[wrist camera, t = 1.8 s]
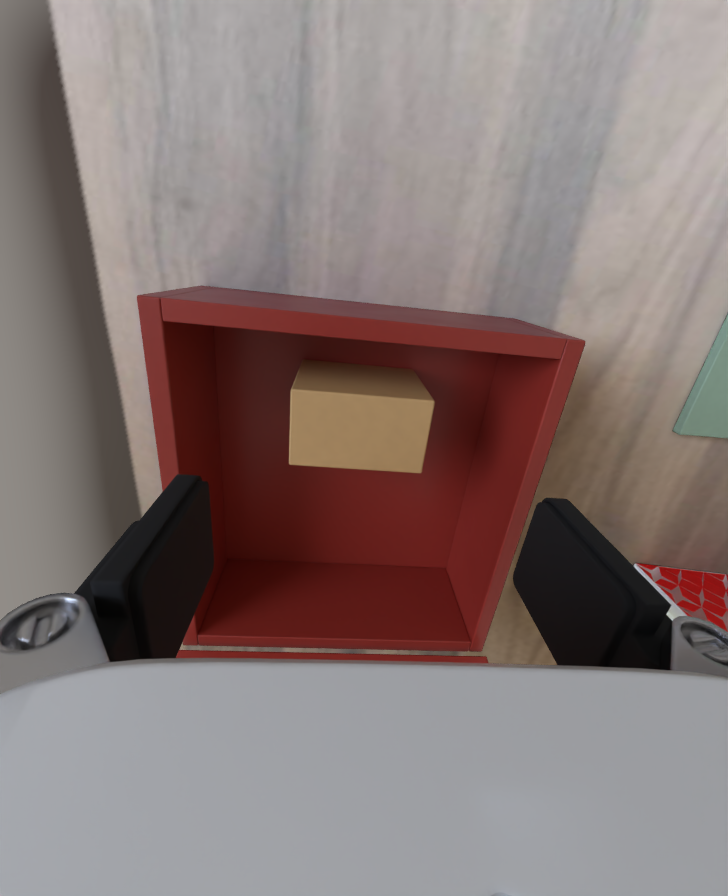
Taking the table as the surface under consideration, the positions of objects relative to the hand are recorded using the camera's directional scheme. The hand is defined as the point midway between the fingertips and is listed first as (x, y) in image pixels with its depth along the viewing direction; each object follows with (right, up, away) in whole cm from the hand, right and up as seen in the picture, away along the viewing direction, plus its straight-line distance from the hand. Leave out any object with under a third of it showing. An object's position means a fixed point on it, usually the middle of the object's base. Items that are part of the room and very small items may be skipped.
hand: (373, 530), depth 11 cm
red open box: (-1, +2, +13) cm, 13 cm away
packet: (-1, +5, +11) cm, 12 cm away
